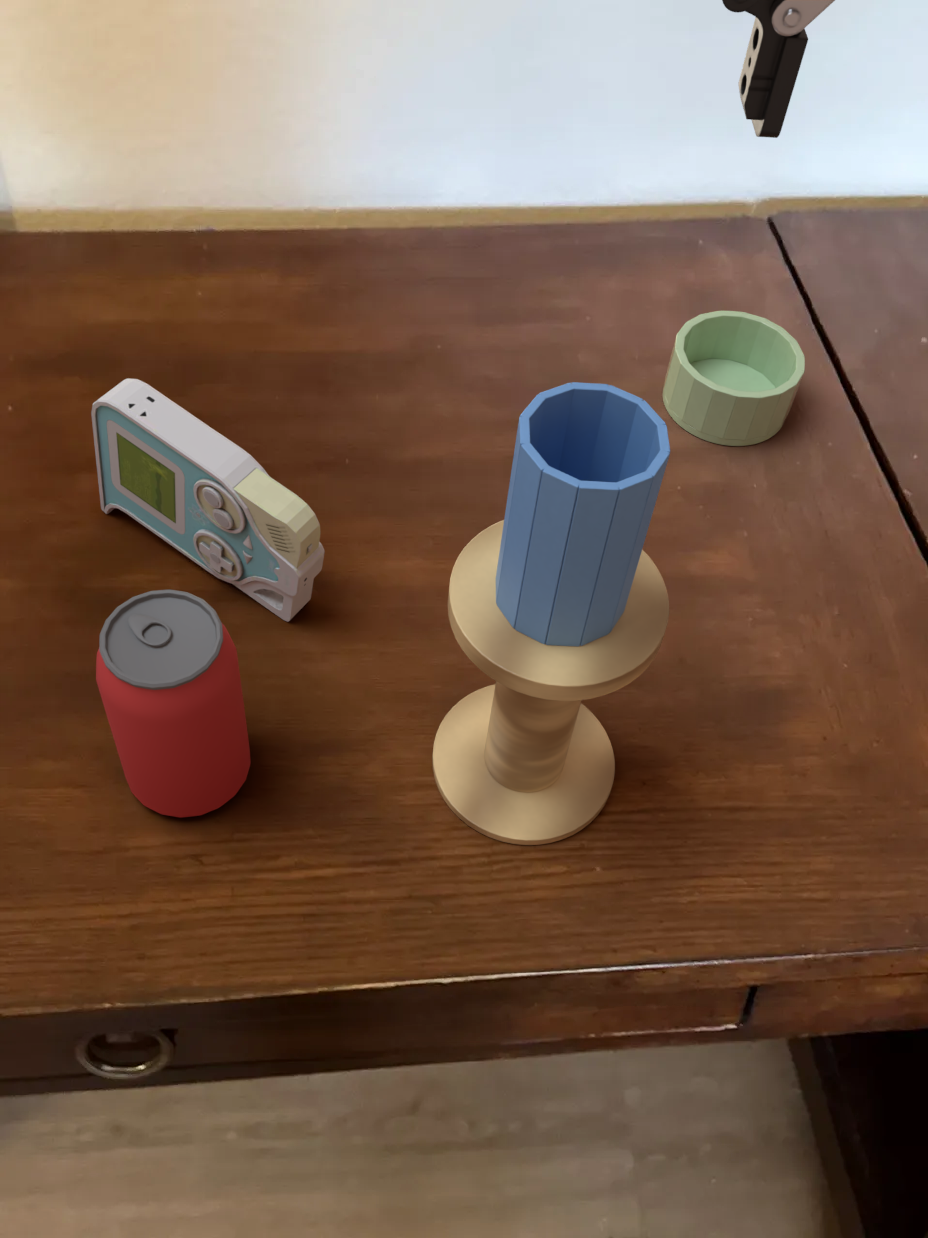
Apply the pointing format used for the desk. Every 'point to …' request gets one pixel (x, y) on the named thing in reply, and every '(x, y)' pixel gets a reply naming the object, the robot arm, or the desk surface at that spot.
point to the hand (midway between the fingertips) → (880, 132)
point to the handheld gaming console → (205, 497)
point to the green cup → (732, 377)
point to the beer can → (174, 702)
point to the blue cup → (578, 510)
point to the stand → (535, 707)
